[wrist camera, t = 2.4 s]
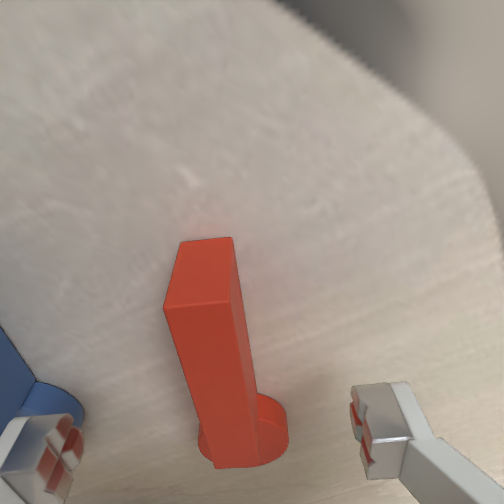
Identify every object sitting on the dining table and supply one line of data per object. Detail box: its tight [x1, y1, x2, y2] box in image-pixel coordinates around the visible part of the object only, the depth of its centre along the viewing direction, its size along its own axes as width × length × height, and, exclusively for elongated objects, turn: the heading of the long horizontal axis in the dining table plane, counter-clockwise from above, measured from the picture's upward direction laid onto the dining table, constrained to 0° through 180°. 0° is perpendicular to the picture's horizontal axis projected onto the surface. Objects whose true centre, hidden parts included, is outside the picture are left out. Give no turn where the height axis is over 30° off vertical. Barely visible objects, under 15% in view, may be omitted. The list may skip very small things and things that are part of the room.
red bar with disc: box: [163, 237, 289, 469], centre depth 12 cm, size 11×4×3 cm, turn 6°
